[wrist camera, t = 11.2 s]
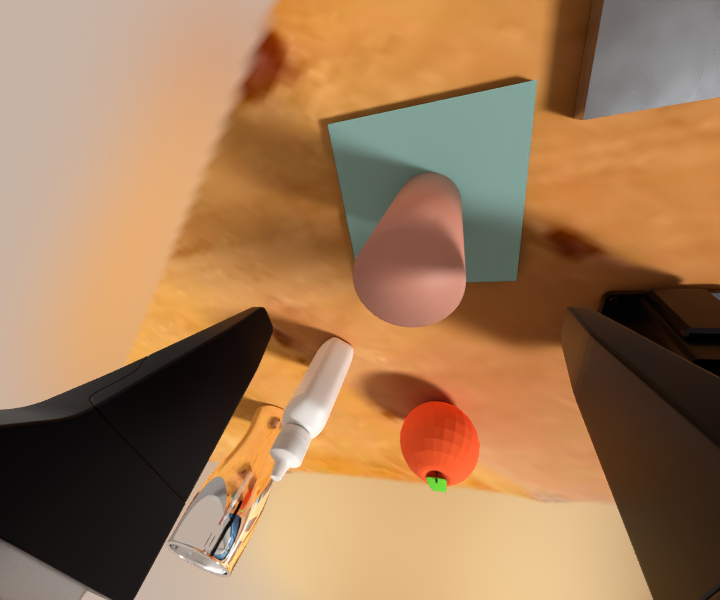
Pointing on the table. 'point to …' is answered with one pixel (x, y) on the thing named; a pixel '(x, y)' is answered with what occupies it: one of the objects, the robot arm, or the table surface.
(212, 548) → the beer glass
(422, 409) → the clementine
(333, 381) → the eye dropper bottle
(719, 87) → the grey square hole plate
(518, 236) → the rubber mat
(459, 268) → the pink rounded cylinder
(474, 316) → the table surface
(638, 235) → the table surface
